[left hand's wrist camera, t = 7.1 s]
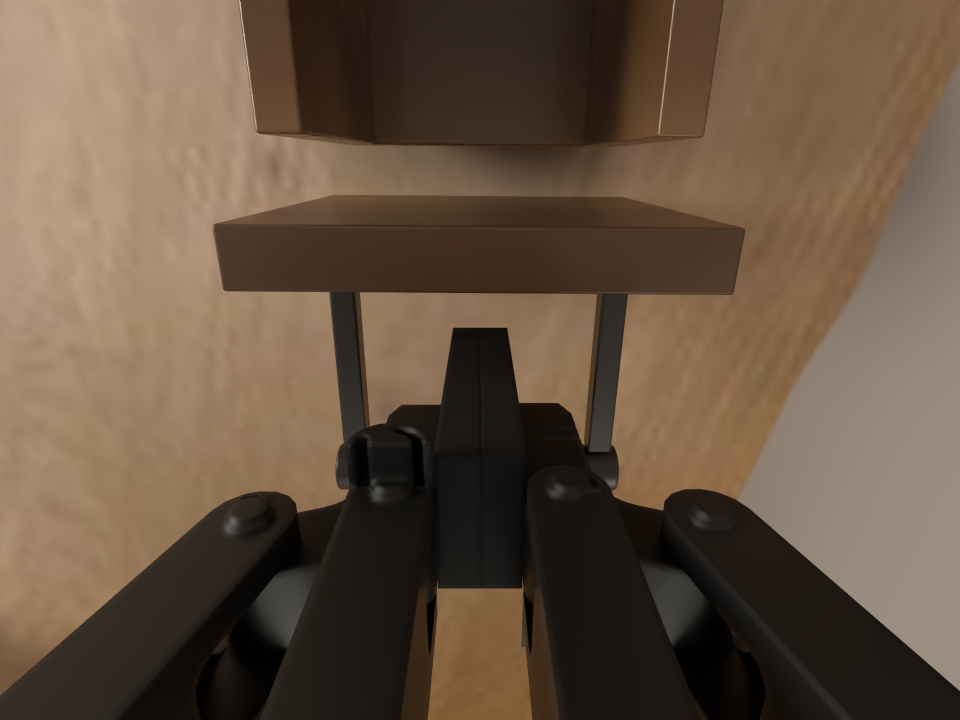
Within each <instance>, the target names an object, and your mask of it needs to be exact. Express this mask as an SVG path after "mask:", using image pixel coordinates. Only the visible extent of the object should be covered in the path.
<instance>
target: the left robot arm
mask: <svg viewBox="0 0 960 720" xmlns="http://www.w3.org/2000/svg"><path fill="white" fill-rule="evenodd" d="M345 448H346V457H347V467H348V476H349V485H350V489H349V492H348V494H347V497H346V499H345V500H344V501H341V502H339V503H337V504H334V505H331V506H327V507H323V508H319V509H314V510H309V511H304V512H299V513H297V508H296V503H295V502H294V501H293V500H292V499H291V498H290V497H289V496H287V495H284V494H281V493H278V492H261V491H260V492H253V493H248V494H244V495H241V496H239V497H236V498H233V499H231V500H228V501H226V502H224V503H223V504H221V505H220V506H218V507H217V508H215V509H214V510H212V511H211V512H210V513H209V514H208V515H206V516H205V517H204V518H203V519H202V520H201V521H200V522H198V523H197V524H196V525H195V526H194V527H193V528H192V529H190V530H189V531H188V532H187V533H186V534H185V535H184V536H182V537H181V538H180V539H179V540H178V541H177V542H176V543H174V544H173V545H172V546H171V547H170V548H169V549H167V550H166V551H165V552H164V553H163V554H162V555H161V556H159V557H158V558H157V559H156V560H155V561H154V562H153V563H151V564H150V565H149V566H148V567H147V568H146V569H145V570H143V571H142V572H141V573H140V574H139V575H138V576H137V577H135V578H134V579H133V580H132V581H131V582H130V583H129V584H127V585H126V586H125V587H124V588H123V589H122V590H121V591H119V592H118V593H117V594H116V595H115V596H114V597H113V598H111V599H110V600H109V601H108V602H107V603H106V604H105V605H103V606H102V607H101V608H100V609H99V610H98V611H97V612H95V613H94V614H93V615H92V616H91V617H90V618H89V619H87V620H86V621H85V622H84V623H83V624H82V625H81V626H79V627H78V628H77V629H76V630H75V631H74V632H73V633H71V634H70V635H69V636H68V637H67V638H66V639H65V640H63V641H62V642H61V643H60V644H59V645H58V646H57V647H55V648H54V649H53V650H52V651H51V652H50V653H49V654H47V655H46V656H45V657H44V658H43V659H42V660H41V661H39V662H38V663H37V664H36V665H35V666H34V667H33V668H31V669H30V670H29V671H28V672H27V673H26V674H25V675H23V676H22V677H21V678H20V679H19V680H18V681H17V682H15V683H14V684H13V685H12V686H11V687H10V688H9V689H7V690H6V691H5V692H4V693H3V694H2V695H1V696H0V720H428V710H429V699H430V688H431V677H432V666H433V655H434V644H435V633H436V622H437V592H436V591H437V581H438V588H522V577H523V587H524V592H523V618H522V644H521V647H526V655H527V666H528V677H529V688H530V698H531V709H532V720H960V691H959V690H958V689H957V688H956V687H954V686H953V685H952V684H951V683H950V682H949V681H948V680H946V679H945V678H944V677H943V676H942V675H941V674H939V673H938V672H937V671H936V670H935V669H934V668H932V667H931V666H930V665H929V664H928V663H927V662H926V661H924V660H923V659H922V658H921V657H920V656H919V655H918V654H916V653H915V652H914V651H913V650H912V649H911V648H909V647H908V646H907V645H906V644H905V643H904V642H902V641H901V640H900V639H899V638H898V637H897V636H896V635H894V634H893V633H892V632H891V631H890V630H889V629H887V628H886V627H885V626H884V625H883V624H882V623H881V622H879V621H878V620H877V619H876V618H875V617H874V616H873V615H871V614H870V613H869V612H868V611H867V610H866V609H864V608H863V607H862V606H861V605H860V604H859V603H857V602H856V601H855V600H854V599H853V598H852V597H851V596H849V595H848V594H847V593H846V592H845V591H844V590H843V589H841V588H840V587H839V586H838V585H837V584H835V583H834V582H833V581H832V580H831V579H830V578H829V577H828V576H826V575H825V574H824V573H823V572H822V571H821V570H819V569H818V568H817V567H816V566H815V565H814V564H813V563H811V562H810V561H809V560H808V559H807V558H806V557H804V556H803V555H802V554H801V553H800V552H799V551H798V550H796V549H795V548H794V547H793V546H792V545H791V544H789V543H788V542H787V541H786V540H785V539H784V538H783V537H781V536H780V535H779V534H778V533H777V532H776V531H774V530H773V529H772V528H771V527H770V526H769V525H768V524H766V523H765V522H764V521H763V520H762V519H761V518H760V517H758V516H757V515H756V514H755V513H754V512H753V511H751V510H750V509H749V508H748V507H746V506H745V505H743V504H741V503H740V502H738V501H737V500H735V499H733V498H731V497H728V496H726V495H723V494H721V493H718V492H714V491H708V490H702V489H686V490H681V491H678V492H675V493H672V494H671V495H670V496H669V497H668V498H667V499H666V500H665V503H664V509H663V511H662V510H657V509H652V508H647V507H643V506H638V505H634V504H631V503H627V502H624V501H622V500H620V499H617V498H615V497H614V496H613V493H612V491H611V488H610V487H609V485H608V484H607V483H606V481H605V480H604V479H603V478H602V477H600V476H599V475H597V474H596V473H594V472H593V471H591V468H590V465H589V462H588V459H587V457H586V454H585V451H584V448H583V445H582V443H581V440H580V439H579V434H578V431H577V429H576V426H575V423H574V420H573V417H572V414H571V413H570V412H569V411H567V410H566V409H565V408H564V407H562V406H561V405H560V404H559V403H519V401H518V394H517V388H516V382H515V375H514V369H513V363H512V356H511V350H510V344H509V337H508V331H507V328H453V332H452V339H451V345H450V351H449V358H448V364H447V370H446V377H445V383H444V389H443V396H442V402H441V405H401V406H400V407H399V408H398V409H396V410H395V411H394V412H393V413H391V414H390V415H389V417H388V420H387V423H386V424H377V425H374V426H370V427H367V428H364V429H362V430H360V431H358V432H356V433H355V434H353V435H351V437H350V438H349V439H348V440H347V441H346V442H345Z"/></svg>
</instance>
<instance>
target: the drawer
mask: <svg viewBox="0 0 960 720" xmlns="http://www.w3.org/2000/svg"><path fill="white" fill-rule="evenodd" d="M238 1H239V9H240V16H241V24H242V31H243V39H244V46H245V54H246V61H247V69H248V77H249V84H250V92H251V99H252V107H253V114H254V122H255V129H256V132H257V133H259V134H266V135H274V136H282V137H291V138H299V139H307V140H316V141H324V142H332V143H340V144H349V145H376V146H490V147H613V146H623V145H633V144H643V143H653V142H663V141H672V140H682V139H692V138H701V137H703V135H704V131H705V124H706V117H707V111H708V104H709V97H710V90H711V84H712V77H713V70H714V63H715V56H716V50H717V43H718V36H719V29H720V22H721V16H722V9H723V2H724V0H238ZM213 232H214V238H215V244H216V250H217V256H218V262H219V268H220V274H221V280H222V285H223V289H224V290H225V291H265V292H329V294H330V304H331V315H332V325H333V336H334V346H335V356H336V367H337V377H338V387H339V398H340V408H341V419H342V429H343V439H344V443H343V444H341V446H340V448H339V450H338V454H337V459H336V481H337V485H338V487H339V488H340V489H350V485H349V476H348V467H347V457H346V448H345V442H346V441H347V440H348V439H349V438H350V437H351V435H353V434H355V433H356V432H358V431H360V430H362V429H364V428H367V427H370V421H369V408H368V395H367V381H366V368H365V355H364V342H363V328H362V315H361V302H360V292H404V293H542V294H597V301H596V312H595V324H594V335H593V346H592V357H591V368H590V379H589V391H588V402H587V413H586V424H585V435H584V442H585V444H582V445H583V448H584V451H585V454H586V457H587V459H588V462H589V465H590V468H591V471H593V472H594V473H596V474H597V475H599V476H600V477H602V478H603V479H604V480H605V481H606V483H607V484H608V485H609V487H610V488H611V491H613V490H615V489H616V487H617V484H618V478H619V464H618V457H617V453H616V450H615V448H614V446H613V445H611V441H612V432H613V423H614V414H615V405H616V396H617V387H618V378H619V369H620V360H621V351H622V342H623V333H624V324H625V315H626V306H627V297H628V294H680V295H731V294H733V293H734V288H735V282H736V277H737V272H738V266H739V261H740V255H741V250H742V244H743V239H744V234H745V229H743V228H741V227H737V226H733V225H729V224H725V223H721V222H717V221H713V220H709V219H705V218H702V217H698V216H694V215H690V214H686V213H682V212H678V211H674V210H670V209H666V208H663V207H659V206H655V205H651V204H647V203H643V202H639V201H635V200H631V199H628V198H624V197H510V196H389V195H332V196H328V197H324V198H320V199H316V200H312V201H308V202H303V203H299V204H295V205H291V206H287V207H283V208H279V209H274V210H270V211H266V212H262V213H258V214H254V215H250V216H245V217H241V218H237V219H233V220H229V221H225V222H221V223H216V224H214V225H213Z"/></svg>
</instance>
